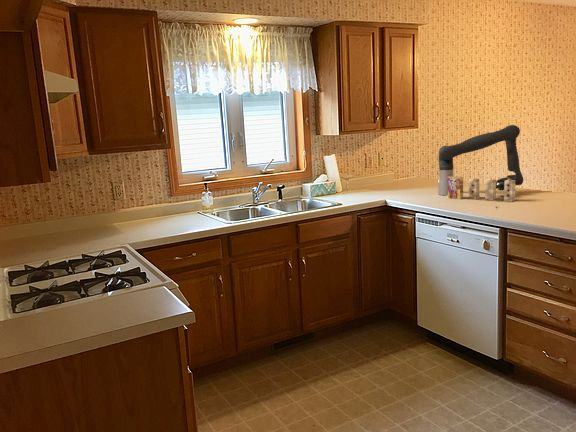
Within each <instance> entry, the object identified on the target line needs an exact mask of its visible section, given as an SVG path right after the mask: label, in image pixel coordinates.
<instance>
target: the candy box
mask: <svg viewBox="0 0 576 432" xmlns="http://www.w3.org/2000/svg"><path fill="white" fill-rule="evenodd" d="M453 176H454V175H453ZM453 176H450V177H448V195H447V199H453V200H463V199H464V176H454V177H453Z"/></svg>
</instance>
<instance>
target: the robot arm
mask: <svg viewBox="0 0 576 432" xmlns="http://www.w3.org/2000/svg"><path fill="white" fill-rule="evenodd" d="M520 133H521V130H520V127H519V126H517V125H516V124H515V125H514V124H509V125H507V126H505V127H504V128H501V129H499V130H496V131H492V132H486V133H482V134H479V135H475V136H473V137H470V138H467V139H465V140H464V141H462V142H460V143H456V144H453V145H443V146H441V147H440V148H439V150H438V173H439V174H438V175H439V176H438V177H439V178H438V181H437V189H438V191H437V194H438V195H440V196H448V177H450V176H453V177H455V175H454V158H456V157H458V156H460V155H463V154H467V153H468V154H469V153H473V152H477V151H479V150H483V149H486V148H489V147H491V146H493V145H495V144H498V143H500V142H501V143H502V142H504V141H505V148H506V158H507V159H506V160H507V161H506V162H507V163H506V164H507V170H508V171H509V172H513V173H514V174H511V175H506V177H505V176H504V177H501V178H498V179H496V190H498V191H504V184H505V181H506V180H515V186H521V185H523V184H524V177H523V174H522V171H521V169H520V158H519V153H518V148H517V138H518V137H519V136H520Z"/></svg>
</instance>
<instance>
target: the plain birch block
mask: <svg viewBox="0 0 576 432" xmlns="http://www.w3.org/2000/svg"><path fill="white" fill-rule="evenodd" d="M496 181H497V179H495V178H493V179H492V178H488V179H485V189H484V190H485V191H484V193H485V196H484V197H485V200H494V199H496V198H497V189H496Z"/></svg>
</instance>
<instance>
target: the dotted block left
mask: <svg viewBox="0 0 576 432" xmlns="http://www.w3.org/2000/svg"><path fill="white" fill-rule="evenodd" d="M468 196H469V198H472V199H477V198H479V197H480V178H473V177H472V178H470V179H468Z"/></svg>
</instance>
